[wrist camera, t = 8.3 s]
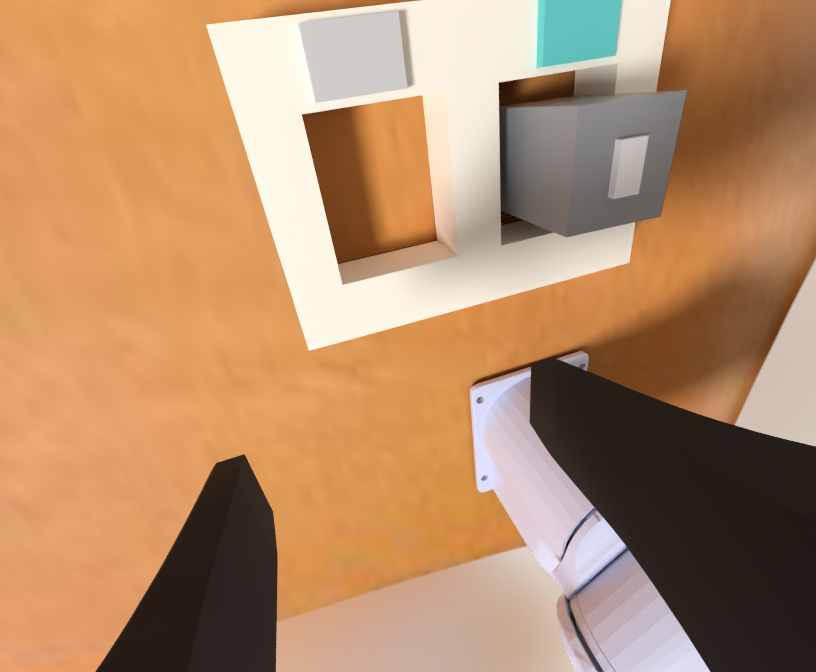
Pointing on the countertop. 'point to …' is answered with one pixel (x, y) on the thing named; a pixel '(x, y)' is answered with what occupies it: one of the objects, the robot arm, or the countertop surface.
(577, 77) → the socket board
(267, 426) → the countertop surface
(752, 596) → the robot arm
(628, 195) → the plug
